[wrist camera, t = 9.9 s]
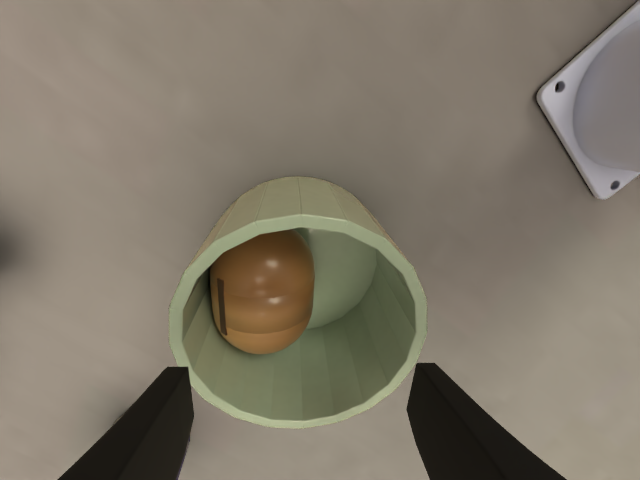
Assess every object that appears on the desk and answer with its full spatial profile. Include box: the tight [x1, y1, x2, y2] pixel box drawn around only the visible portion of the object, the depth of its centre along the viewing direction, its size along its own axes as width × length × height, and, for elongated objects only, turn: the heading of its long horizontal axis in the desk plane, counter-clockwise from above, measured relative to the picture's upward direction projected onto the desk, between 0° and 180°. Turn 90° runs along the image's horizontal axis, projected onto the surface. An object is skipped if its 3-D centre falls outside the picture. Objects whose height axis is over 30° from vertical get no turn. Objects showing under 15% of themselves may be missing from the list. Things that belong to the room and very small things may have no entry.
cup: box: [169, 176, 427, 429], centre depth 16 cm, size 10×10×7 cm
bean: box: [210, 229, 315, 354], centre depth 16 cm, size 7×5×5 cm
